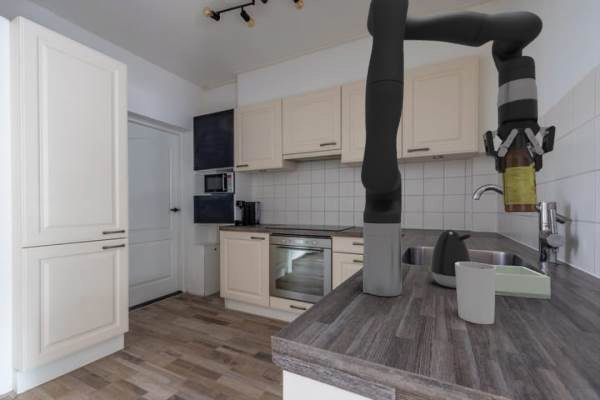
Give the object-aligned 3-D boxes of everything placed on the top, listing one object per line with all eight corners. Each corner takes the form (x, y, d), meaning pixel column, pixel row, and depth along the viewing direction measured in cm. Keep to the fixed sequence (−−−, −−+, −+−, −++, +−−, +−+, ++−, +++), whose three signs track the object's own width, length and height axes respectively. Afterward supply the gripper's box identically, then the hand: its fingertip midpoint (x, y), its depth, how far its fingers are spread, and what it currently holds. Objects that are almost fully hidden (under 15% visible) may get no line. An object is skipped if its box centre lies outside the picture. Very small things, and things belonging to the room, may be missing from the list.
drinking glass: (471, 309, 56) (470, 260, 56) (506, 322, 49) (504, 267, 50) (447, 313, 53) (446, 263, 54) (480, 327, 47) (479, 270, 47)
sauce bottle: (543, 212, 60) (541, 125, 61) (511, 212, 62) (510, 126, 62) (526, 212, 67) (524, 133, 67) (497, 212, 68) (496, 134, 69)
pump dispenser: (460, 293, 66) (458, 231, 67) (422, 283, 75) (421, 228, 76) (482, 287, 71) (481, 229, 72) (444, 278, 80) (443, 227, 81)
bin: (490, 294, 65) (489, 273, 65) (473, 281, 77) (473, 263, 77) (550, 299, 62) (550, 277, 62) (524, 285, 73) (523, 266, 73)
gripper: (487, 101, 64) (488, 171, 63) (563, 93, 59) (565, 169, 59) (477, 112, 71) (478, 175, 70) (544, 105, 66) (546, 173, 66)
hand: (518, 172), depth 64 cm, fingers closed on sauce bottle, 6 cm apart
